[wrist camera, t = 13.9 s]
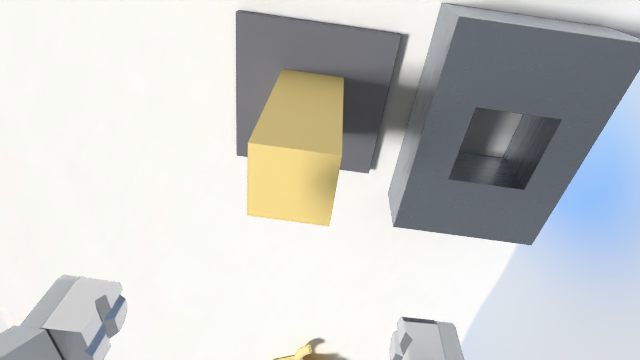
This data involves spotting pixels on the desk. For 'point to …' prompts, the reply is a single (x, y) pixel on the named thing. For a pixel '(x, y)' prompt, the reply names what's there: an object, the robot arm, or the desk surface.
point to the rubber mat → (320, 58)
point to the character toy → (300, 353)
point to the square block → (297, 149)
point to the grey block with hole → (511, 96)
